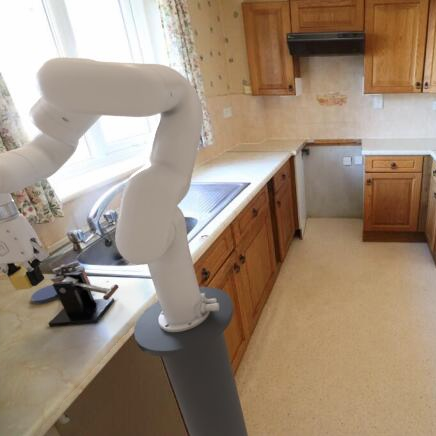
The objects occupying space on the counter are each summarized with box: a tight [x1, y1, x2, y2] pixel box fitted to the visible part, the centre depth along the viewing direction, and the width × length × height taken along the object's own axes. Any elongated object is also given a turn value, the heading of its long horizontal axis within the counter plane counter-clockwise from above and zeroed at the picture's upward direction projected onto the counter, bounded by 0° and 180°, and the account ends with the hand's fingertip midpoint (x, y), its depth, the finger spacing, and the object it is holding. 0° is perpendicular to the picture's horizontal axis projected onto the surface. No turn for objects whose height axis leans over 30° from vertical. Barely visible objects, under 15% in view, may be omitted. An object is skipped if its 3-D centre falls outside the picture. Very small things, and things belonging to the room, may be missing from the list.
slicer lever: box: [62, 277, 119, 300], centre depth 86 cm, size 12×5×2 cm, turn 95°
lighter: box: [50, 260, 92, 285], centre depth 96 cm, size 8×3×10 cm, turn 129°
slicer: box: [48, 272, 115, 328], centre depth 87 cm, size 12×9×12 cm
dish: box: [30, 284, 59, 305], centre depth 97 cm, size 8×8×1 cm
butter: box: [8, 265, 34, 291], centre depth 76 cm, size 4×3×4 cm
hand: (29, 282), depth 76 cm, fingers closed on butter, 3 cm apart
